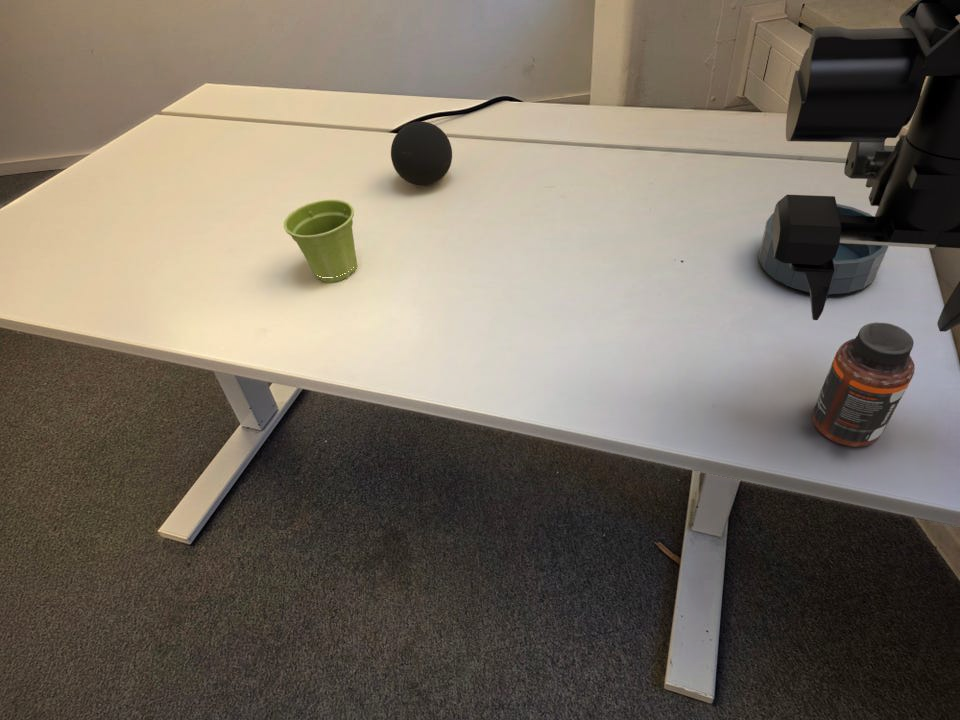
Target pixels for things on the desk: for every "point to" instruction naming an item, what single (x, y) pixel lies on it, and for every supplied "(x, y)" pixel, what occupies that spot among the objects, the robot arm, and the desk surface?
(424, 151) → the speaker
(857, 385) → the supplement bottle
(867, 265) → the bowl
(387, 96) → the desk surface
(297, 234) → the plant pot
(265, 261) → the desk surface
